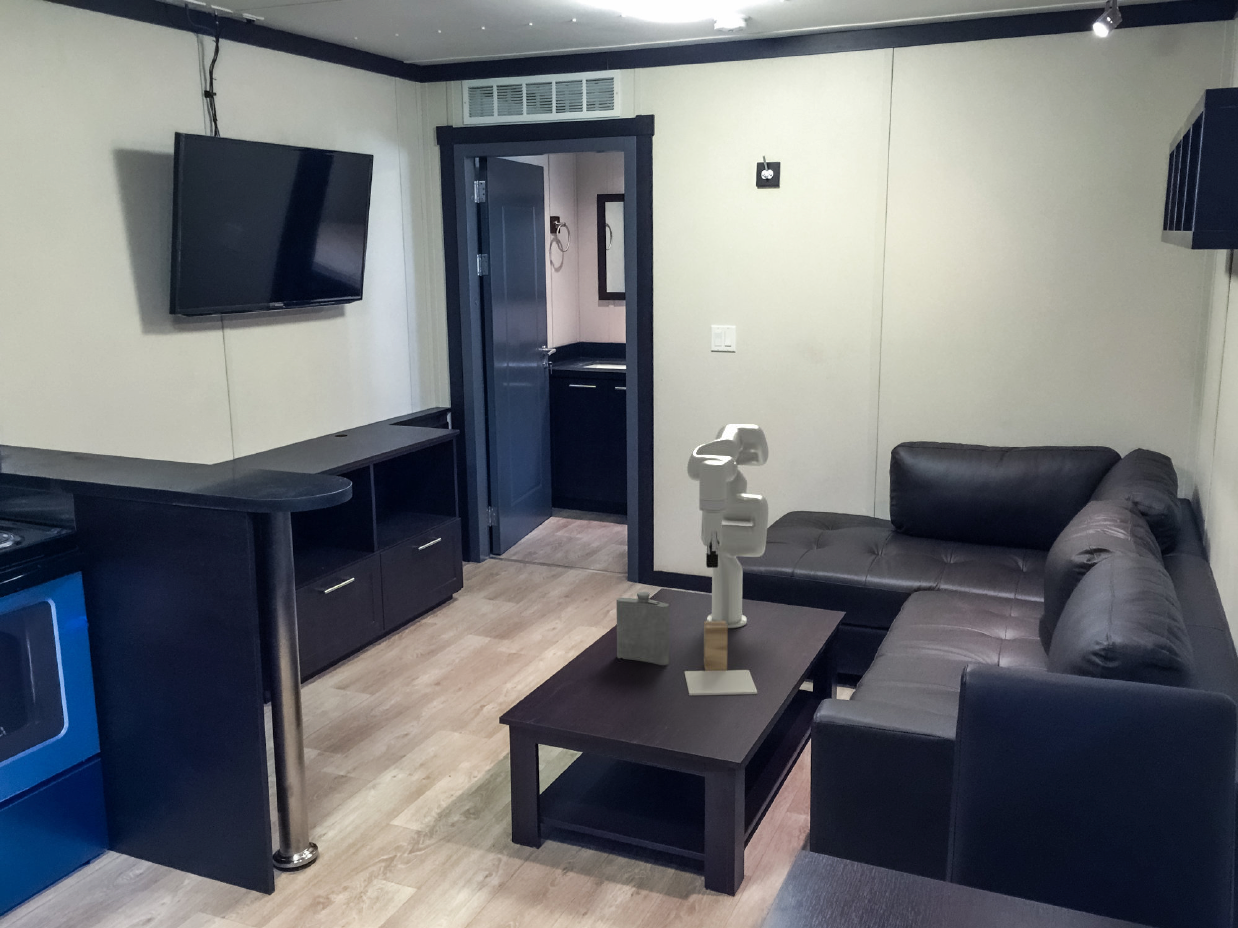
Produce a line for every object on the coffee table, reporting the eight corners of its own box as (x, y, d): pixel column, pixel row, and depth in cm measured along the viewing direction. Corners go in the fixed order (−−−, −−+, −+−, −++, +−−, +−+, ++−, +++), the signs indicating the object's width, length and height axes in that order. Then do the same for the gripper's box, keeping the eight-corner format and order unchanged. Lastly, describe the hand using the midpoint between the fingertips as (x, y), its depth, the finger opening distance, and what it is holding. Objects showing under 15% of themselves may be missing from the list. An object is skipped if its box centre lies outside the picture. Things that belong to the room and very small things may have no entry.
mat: (684, 673, 294) (684, 671, 294) (748, 671, 295) (748, 669, 295) (689, 695, 280) (689, 693, 279) (757, 693, 280) (757, 691, 280)
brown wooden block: (703, 664, 300) (704, 621, 298) (724, 664, 300) (725, 620, 298) (705, 671, 295) (705, 627, 293) (727, 671, 296) (727, 627, 293)
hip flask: (615, 657, 306) (614, 591, 302) (621, 652, 310) (620, 587, 306) (666, 665, 300) (666, 598, 296) (671, 660, 303) (671, 594, 300)
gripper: (696, 498, 306) (696, 559, 309) (702, 510, 291) (701, 574, 294) (722, 498, 306) (722, 559, 309) (729, 510, 291) (728, 574, 295)
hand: (712, 566), depth 302 cm, fingers closed
